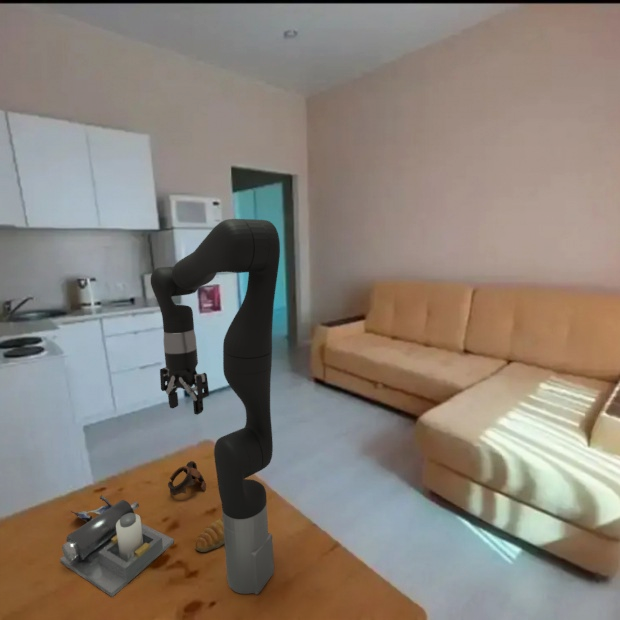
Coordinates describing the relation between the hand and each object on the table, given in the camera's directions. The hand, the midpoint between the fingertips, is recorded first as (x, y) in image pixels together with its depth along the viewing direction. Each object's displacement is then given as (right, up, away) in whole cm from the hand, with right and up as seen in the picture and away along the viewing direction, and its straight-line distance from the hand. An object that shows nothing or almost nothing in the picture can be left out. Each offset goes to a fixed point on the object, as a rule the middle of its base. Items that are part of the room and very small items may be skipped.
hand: (186, 410), depth 94 cm
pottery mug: (-5, -28, +17) cm, 33 cm away
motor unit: (-14, -32, -6) cm, 35 cm away
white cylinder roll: (-9, -31, -9) cm, 34 cm away
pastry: (+9, -31, -3) cm, 33 cm away
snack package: (-24, -31, +5) cm, 40 cm away
